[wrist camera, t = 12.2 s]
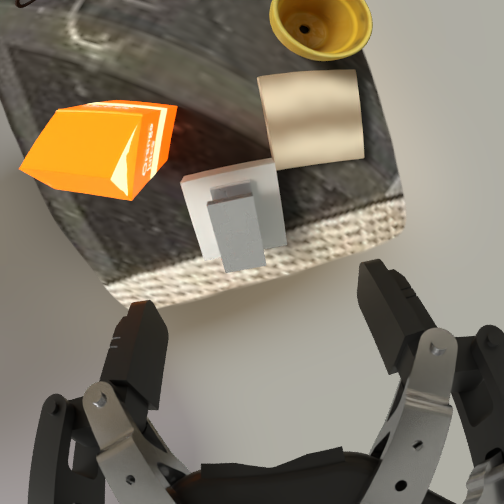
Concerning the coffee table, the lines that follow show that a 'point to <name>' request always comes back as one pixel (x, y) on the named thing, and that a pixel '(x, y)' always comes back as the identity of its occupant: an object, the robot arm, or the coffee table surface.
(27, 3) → the coffee mug
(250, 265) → the block
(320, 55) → the plant pot
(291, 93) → the stand
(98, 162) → the orange juice
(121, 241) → the coffee table surface
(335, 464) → the robot arm
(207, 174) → the stand
